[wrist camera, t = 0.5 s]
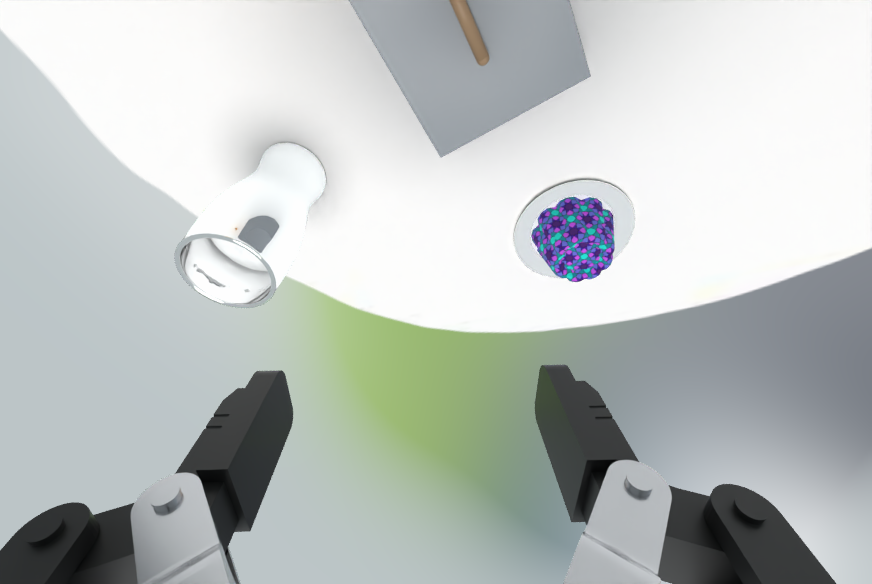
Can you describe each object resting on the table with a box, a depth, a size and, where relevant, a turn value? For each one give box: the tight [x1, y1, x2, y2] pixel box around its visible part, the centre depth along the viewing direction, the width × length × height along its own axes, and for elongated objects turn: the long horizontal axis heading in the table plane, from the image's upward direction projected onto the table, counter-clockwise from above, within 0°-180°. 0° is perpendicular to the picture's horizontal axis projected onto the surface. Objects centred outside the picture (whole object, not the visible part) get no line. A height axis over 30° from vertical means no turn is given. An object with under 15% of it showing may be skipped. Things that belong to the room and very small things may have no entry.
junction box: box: [349, 0, 591, 157], centre depth 26 cm, size 16×12×5 cm
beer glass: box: [174, 142, 326, 308], centre depth 32 cm, size 7×7×15 cm
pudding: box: [514, 180, 635, 282], centre depth 39 cm, size 12×12×5 cm
